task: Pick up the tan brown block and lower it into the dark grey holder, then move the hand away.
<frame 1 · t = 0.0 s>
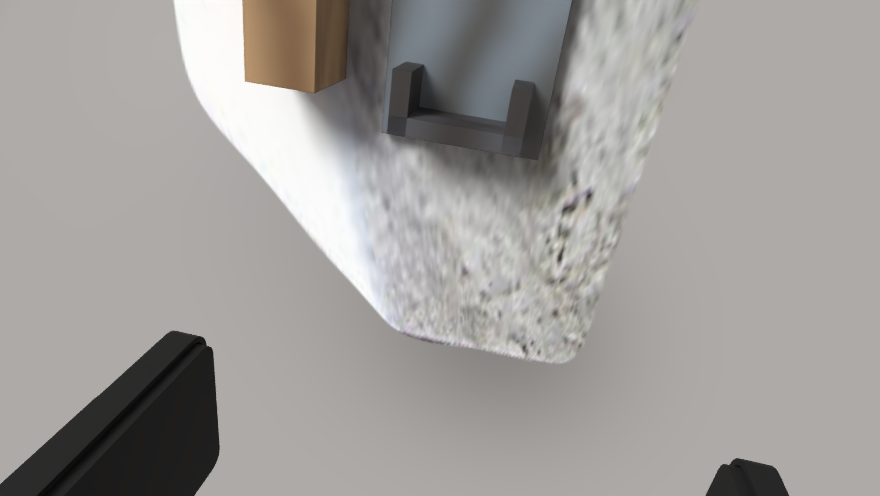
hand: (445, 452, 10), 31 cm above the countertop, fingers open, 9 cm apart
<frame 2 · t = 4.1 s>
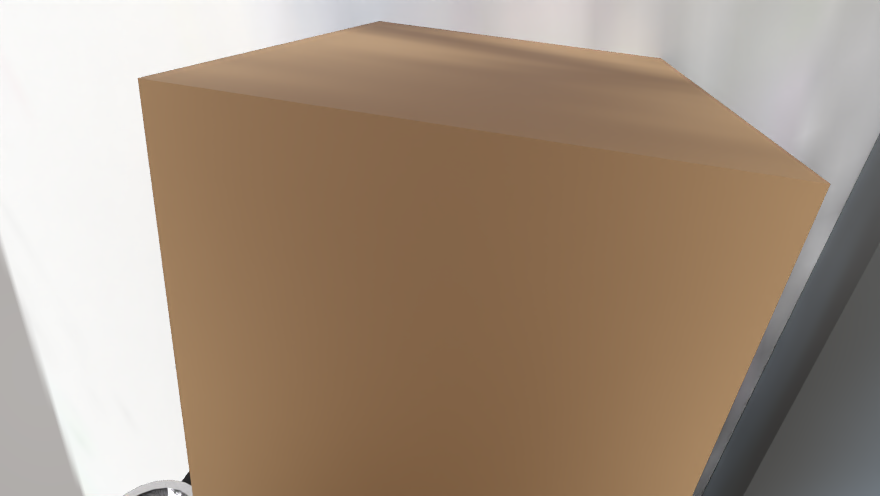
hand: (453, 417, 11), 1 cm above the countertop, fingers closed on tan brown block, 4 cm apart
tan brown block: (461, 382, 12), on the countertop, touching gripper
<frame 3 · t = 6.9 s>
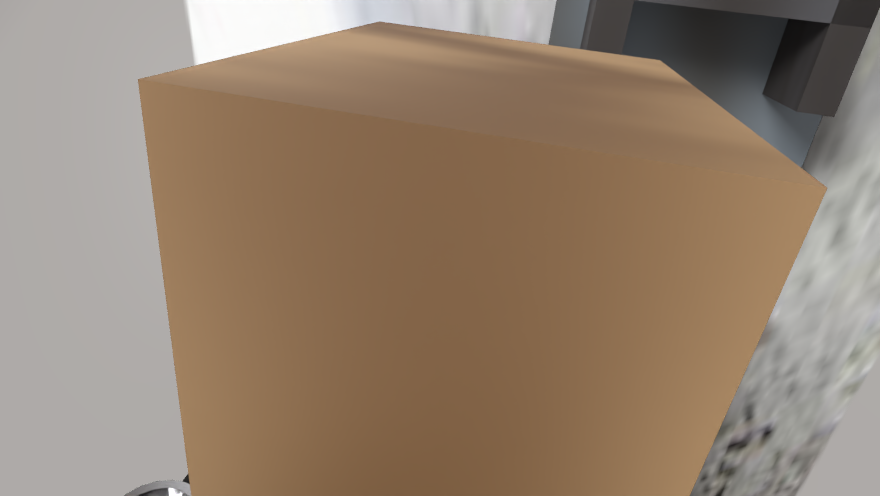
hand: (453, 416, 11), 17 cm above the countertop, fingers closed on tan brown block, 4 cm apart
tan brown block: (460, 383, 12), point 16 cm above the countertop, touching gripper
dark grey holder: (645, 190, 26), on the countertop
when the fingers open (3 cm above the countertop, at t = 9.9 s): tan brown block stays where it is, resting on dark grey holder.
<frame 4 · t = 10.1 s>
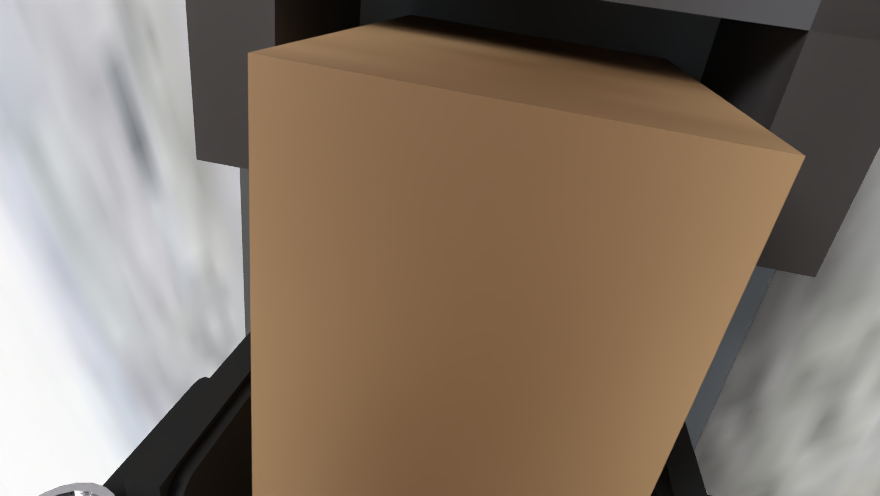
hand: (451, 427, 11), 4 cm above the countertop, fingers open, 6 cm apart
tan brown block: (468, 355, 13), point 1 cm above the countertop, touching dark grey holder
dark grey holder: (474, 327, 14), on the countertop
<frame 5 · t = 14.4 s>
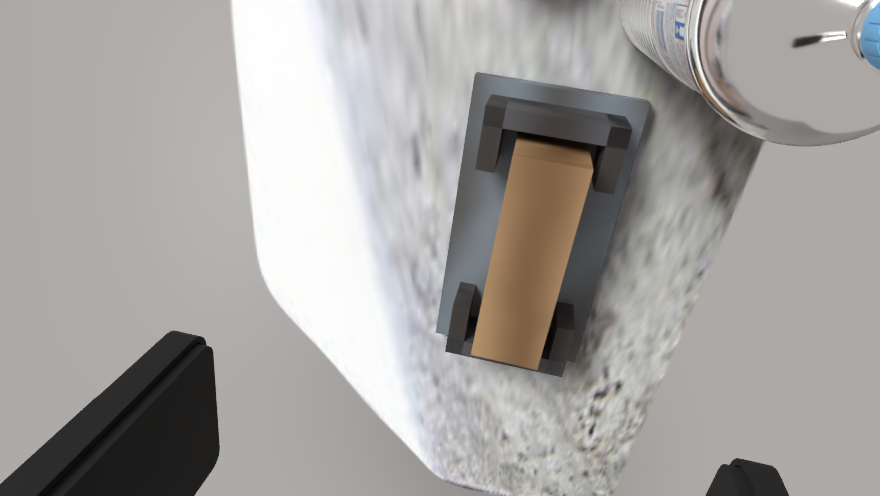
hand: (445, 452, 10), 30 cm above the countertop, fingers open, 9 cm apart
tan brown block: (529, 232, 39), point 1 cm above the countertop, touching dark grey holder
dark grey holder: (530, 226, 41), on the countertop
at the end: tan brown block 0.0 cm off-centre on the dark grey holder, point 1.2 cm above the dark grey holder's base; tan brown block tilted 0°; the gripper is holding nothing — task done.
